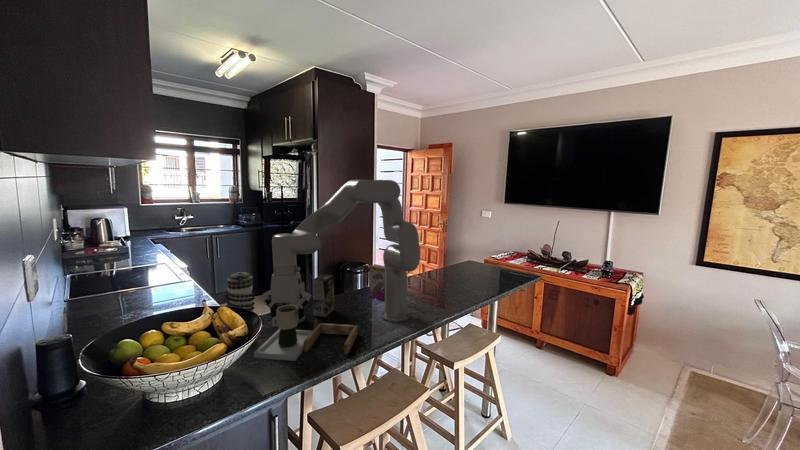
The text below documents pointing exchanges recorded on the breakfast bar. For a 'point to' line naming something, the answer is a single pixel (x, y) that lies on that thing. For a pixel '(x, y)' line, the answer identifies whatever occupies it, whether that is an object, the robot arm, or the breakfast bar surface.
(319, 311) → the coffee box
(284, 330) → the character mug
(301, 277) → the travel mug
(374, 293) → the candy bar box
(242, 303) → the decorative candle
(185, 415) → the breakfast bar surface
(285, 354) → the tray
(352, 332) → the bay
